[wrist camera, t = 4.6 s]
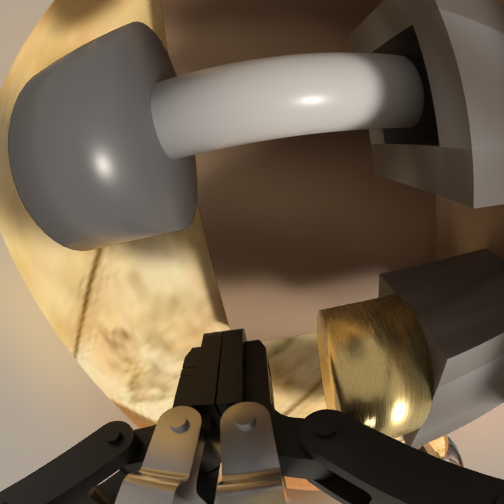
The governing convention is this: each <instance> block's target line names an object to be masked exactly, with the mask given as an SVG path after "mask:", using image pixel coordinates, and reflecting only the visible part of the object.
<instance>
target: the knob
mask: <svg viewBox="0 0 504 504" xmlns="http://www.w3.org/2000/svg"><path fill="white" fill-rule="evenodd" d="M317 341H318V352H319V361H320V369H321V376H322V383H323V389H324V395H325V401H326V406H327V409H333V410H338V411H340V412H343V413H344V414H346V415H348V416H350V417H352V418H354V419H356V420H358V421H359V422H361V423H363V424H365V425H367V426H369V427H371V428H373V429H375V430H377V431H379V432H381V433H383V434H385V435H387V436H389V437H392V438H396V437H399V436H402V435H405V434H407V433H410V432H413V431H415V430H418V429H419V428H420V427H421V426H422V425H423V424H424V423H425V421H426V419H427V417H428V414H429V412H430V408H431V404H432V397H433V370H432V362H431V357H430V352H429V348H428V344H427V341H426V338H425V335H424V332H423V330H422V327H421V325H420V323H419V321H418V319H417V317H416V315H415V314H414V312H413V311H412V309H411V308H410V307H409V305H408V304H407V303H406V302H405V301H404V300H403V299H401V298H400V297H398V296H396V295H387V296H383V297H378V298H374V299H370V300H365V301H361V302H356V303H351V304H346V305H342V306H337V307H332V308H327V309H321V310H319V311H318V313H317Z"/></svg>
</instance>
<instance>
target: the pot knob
mask: <svg viewBox="0 0 504 504" xmlns="http://www.w3.org/2000/svg"><path fill="white" fill-rule="evenodd" d="M423 107H424V90H423V85H422V81H421V78H420V75H419V73H418V71H417V69H416V67H415V66H414V64H413V63H412V62H411V61H410V60H409V59H408V58H406V57H405V56H402V55H392V54H378V53H354V52H334V53H308V54H295V55H284V56H275V57H267V58H260V59H253V60H247V61H241V62H235V63H230V64H225V65H220V66H216V67H211V68H207V69H203V70H199V71H195V72H191V73H187V74H183V75H180V76H177V75H176V72H175V70H174V67H173V65H172V62H171V60H170V58H169V56H168V54H167V52H166V50H165V48H164V46H163V44H162V43H161V41H160V39H159V38H158V37H157V35H156V34H155V33H154V32H153V30H152V29H150V28H149V27H148V26H147V25H145V24H144V23H141V22H132V23H130V24H127V25H125V26H122V27H120V28H118V29H115V30H113V31H111V32H109V33H107V34H105V35H102V36H100V37H98V38H96V39H94V40H92V41H90V42H89V43H87V44H85V45H83V46H81V47H79V48H77V49H76V50H74V51H72V52H70V53H69V54H67V55H65V56H64V57H62V58H60V59H59V60H57V61H56V62H54V63H52V64H51V65H49V66H48V67H46V68H45V69H43V70H42V71H40V72H39V73H38V74H36V75H35V76H33V77H32V78H31V79H30V80H29V81H28V82H27V83H26V85H25V86H24V88H23V89H22V91H21V92H20V94H19V96H18V98H17V100H16V102H15V105H14V108H13V111H12V115H11V119H10V125H9V133H8V151H9V161H10V167H11V171H12V176H13V180H14V183H15V185H16V188H17V191H18V194H19V196H20V198H21V200H22V202H23V204H24V206H25V208H26V210H27V211H28V213H29V214H30V216H31V217H32V219H33V220H34V221H35V223H36V224H37V225H38V226H39V227H40V228H41V229H42V231H43V232H44V233H45V234H47V235H48V236H49V237H50V238H51V239H53V240H54V241H56V242H57V243H59V244H61V245H62V246H64V247H67V248H70V249H72V250H78V251H88V250H93V249H97V248H102V247H106V246H110V245H115V244H119V243H124V242H128V241H133V240H137V239H142V238H147V237H151V236H156V235H161V234H166V233H171V232H176V231H181V230H184V229H187V228H188V227H189V226H190V224H191V223H192V221H193V218H194V216H195V211H196V205H197V167H196V157H195V155H196V154H200V153H204V152H209V151H213V150H218V149H222V148H227V147H232V146H237V145H243V144H248V143H254V142H259V141H265V140H272V139H278V138H285V137H292V136H299V135H307V134H316V133H325V132H336V131H347V130H361V129H380V128H411V127H413V126H415V125H416V124H417V123H418V122H419V120H420V118H421V116H422V112H423Z"/></svg>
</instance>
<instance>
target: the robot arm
mask: <svg viewBox="0 0 504 504" xmlns="http://www.w3.org/2000/svg"><path fill="white" fill-rule="evenodd" d="M180 376H181V378H180V379H179V383H178V387H177V391H176V395H175V399H174V404H173V408H171V409H169V410H167V411H166V412H164V413H163V414H162V415H161V416H160V418H159V420H158V422H157V424H156V425H153V426H150V427H145V428H141V429H137V430H133V429H132V428H131V427H130V425H129V424H127V423H125V422H122V421H113V422H109V423H107V424H105V425H104V426H102V427H101V428H99V429H98V430H97V431H95V432H94V433H92V434H91V435H89V436H88V437H87V438H85V439H84V440H82V441H81V442H79V443H78V444H76V445H75V446H73V447H72V448H70V449H69V450H67V451H66V452H64V453H63V454H61V455H60V456H58V457H57V458H55V459H54V460H52V461H51V462H49V463H47V464H46V465H44V466H43V467H41V468H39V469H38V470H36V471H35V472H33V473H31V474H30V475H28V476H27V477H25V478H23V479H22V480H20V481H19V482H17V483H15V484H13V485H11V486H10V487H8V488H6V489H4V490H3V491H1V492H0V504H290V501H289V497H288V491H287V486H286V481H285V477H284V476H287V477H295V478H303V479H307V480H308V481H309V482H310V483H312V484H313V485H314V486H316V487H317V488H319V489H320V490H322V491H323V492H325V493H326V494H328V495H330V496H331V497H333V498H334V499H336V500H338V501H339V502H341V503H342V504H504V480H502V479H499V478H495V477H492V476H488V475H485V474H482V473H479V472H476V471H473V470H470V469H467V468H464V467H461V466H458V465H456V464H453V463H450V462H448V461H445V460H442V459H440V458H437V457H435V456H432V455H430V454H428V453H425V452H423V451H420V450H418V449H416V448H413V447H411V446H409V445H407V444H405V443H402V442H400V441H398V440H396V439H394V438H392V437H389V436H387V435H385V434H383V433H381V432H379V431H377V430H375V429H373V428H371V427H369V426H367V425H365V424H363V423H361V422H359V421H358V420H356V419H354V418H352V417H350V416H348V415H346V414H344V413H343V412H340V411H338V410H333V409H324V410H319V411H316V412H313V413H312V414H310V415H308V416H307V417H306V418H305V419H303V418H293V417H287V416H284V415H282V414H280V413H279V412H277V411H276V410H275V407H274V397H273V388H272V378H271V372H270V367H269V362H268V357H267V352H266V347H265V346H264V345H263V344H262V342H261V341H260V340H252V341H247V338H246V334H245V330H244V328H242V329H235V330H228V331H221V332H213V333H205V334H204V335H203V340H202V345H201V347H196V348H192V349H191V351H190V352H189V353H188V354H187V356H186V357H185V360H184V364H183V369H182V371H181V375H180ZM117 470H120V471H119V472H117V473H116V474H114V475H113V476H112V477H110V478H109V479H107V480H106V481H105V482H103V483H102V484H100V485H98V484H99V483H100V482H102V481H103V480H105V479H106V478H108V477H109V476H110V475H112V474H113V473H114V472H116V471H117ZM96 485H97V486H96Z"/></svg>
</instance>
